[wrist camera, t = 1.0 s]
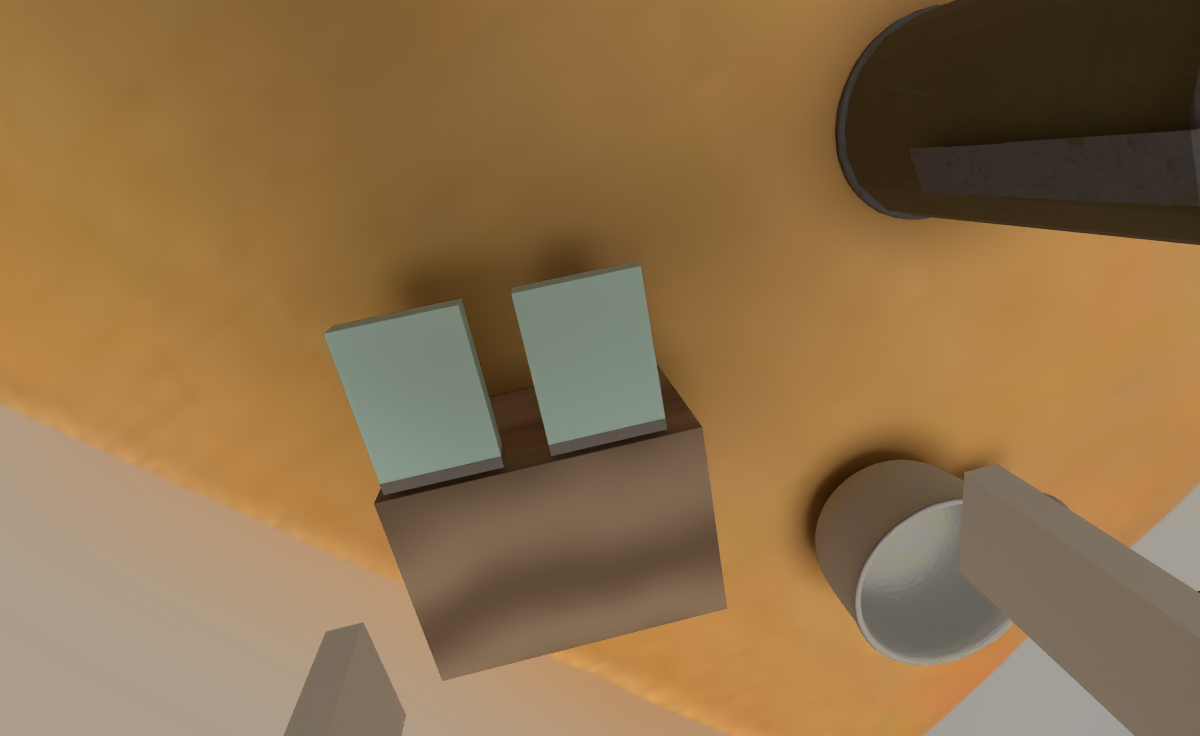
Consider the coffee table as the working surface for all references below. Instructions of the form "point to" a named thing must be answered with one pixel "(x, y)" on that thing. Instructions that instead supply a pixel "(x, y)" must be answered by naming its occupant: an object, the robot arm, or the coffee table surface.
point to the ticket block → (559, 541)
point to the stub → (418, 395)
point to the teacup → (905, 563)
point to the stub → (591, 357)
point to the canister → (1032, 116)
